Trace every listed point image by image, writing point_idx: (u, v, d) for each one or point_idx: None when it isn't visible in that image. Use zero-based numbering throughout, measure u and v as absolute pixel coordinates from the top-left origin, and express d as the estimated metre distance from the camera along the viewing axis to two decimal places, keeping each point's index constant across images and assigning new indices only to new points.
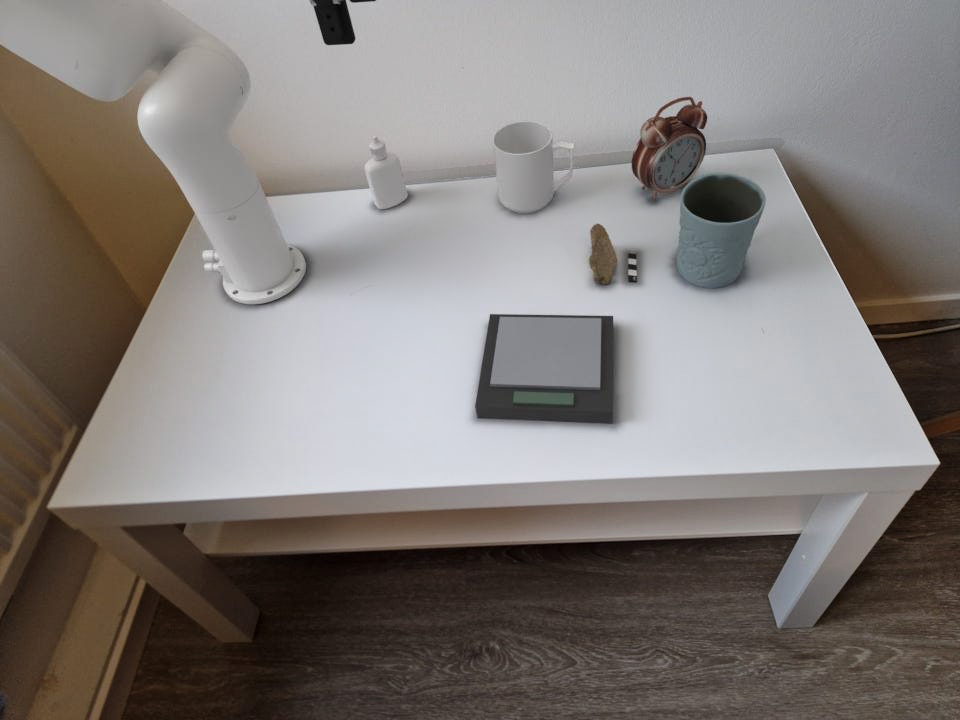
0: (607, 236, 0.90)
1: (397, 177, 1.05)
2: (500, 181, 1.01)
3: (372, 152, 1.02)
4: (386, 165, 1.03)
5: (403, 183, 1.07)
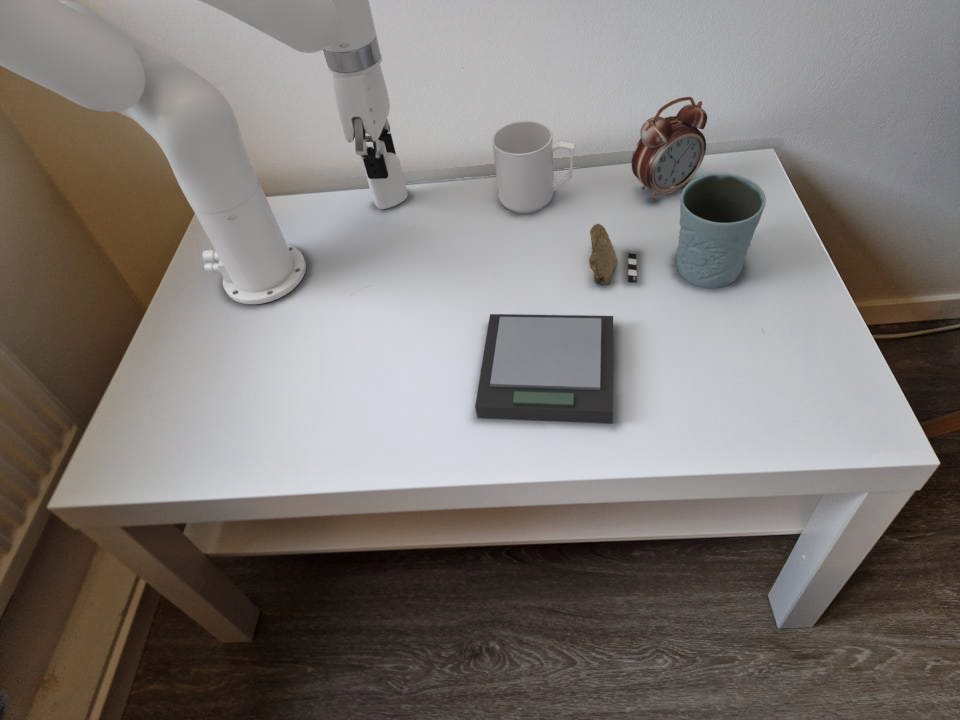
0: (607, 236, 0.90)
1: (397, 177, 1.06)
2: (500, 181, 1.01)
3: None
4: (386, 164, 1.03)
5: (403, 183, 1.07)
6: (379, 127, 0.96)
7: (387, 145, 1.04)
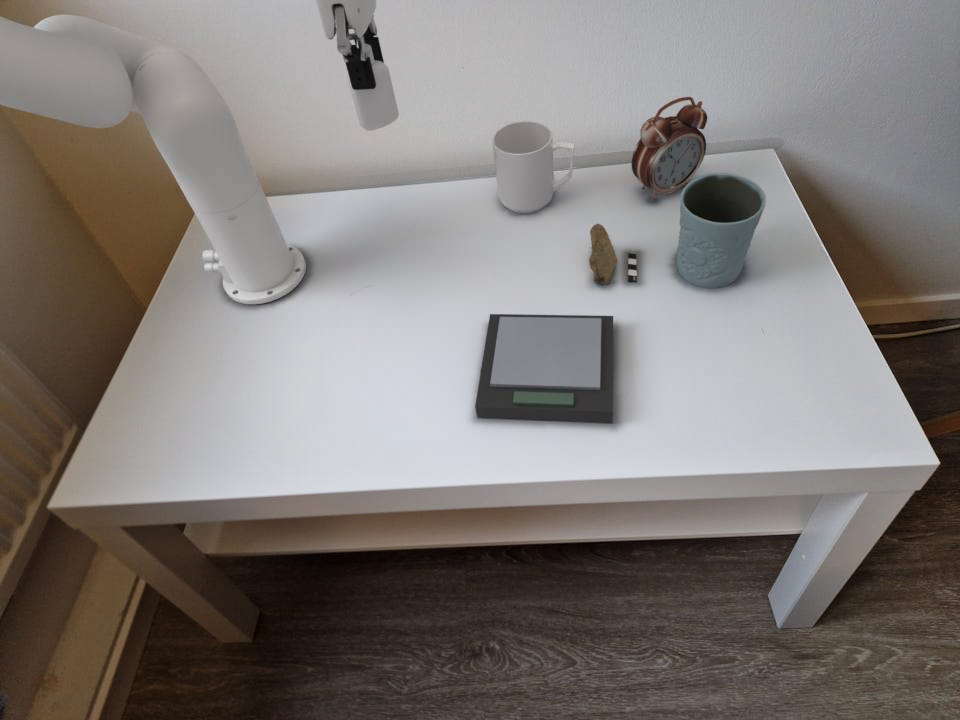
0: (607, 236, 0.90)
1: (387, 90, 0.90)
2: (500, 181, 1.01)
3: None
4: None
5: (393, 99, 0.92)
6: (364, 20, 0.81)
7: (374, 52, 0.89)
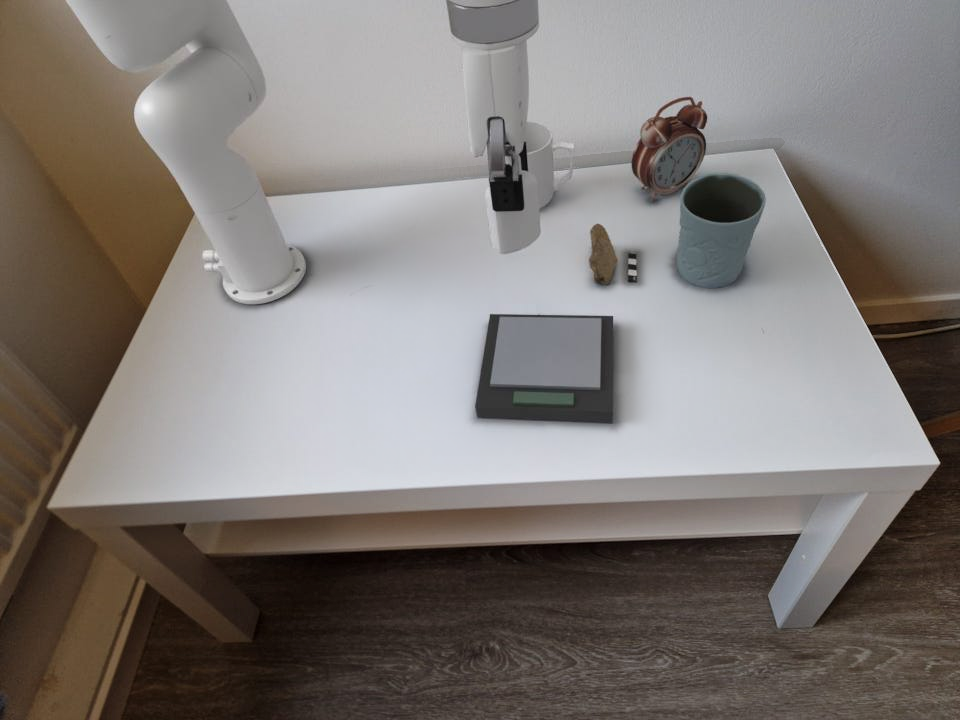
0: (607, 236, 0.90)
1: (532, 207, 0.70)
2: None
3: None
4: None
5: (538, 215, 0.72)
6: (524, 133, 0.60)
7: None
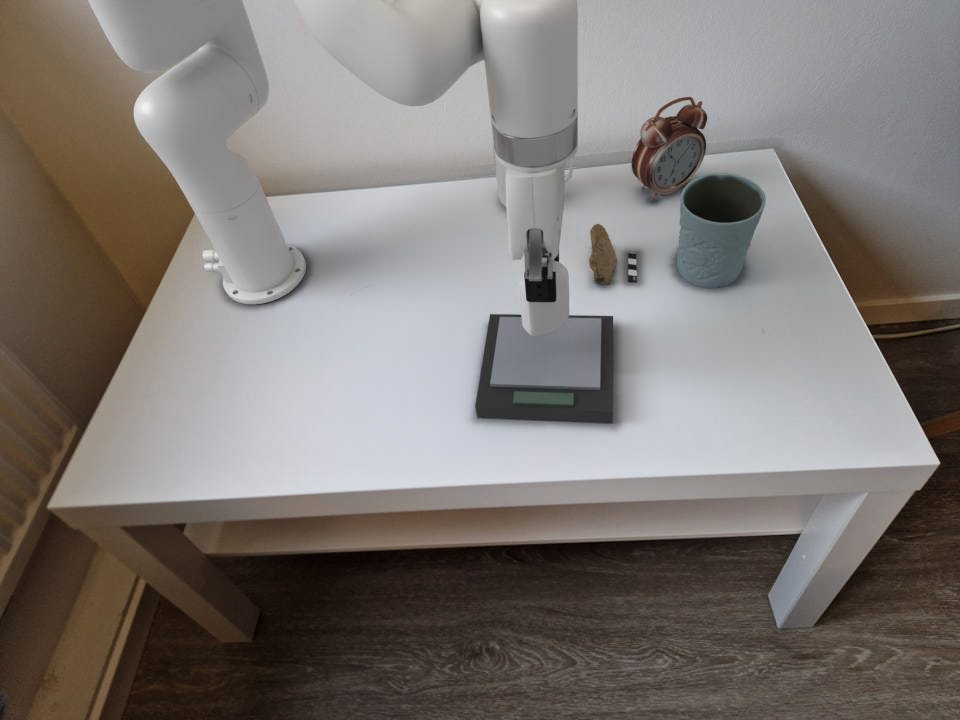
0: (607, 236, 0.90)
1: (563, 295, 0.74)
2: (500, 181, 1.01)
3: None
4: None
5: (567, 301, 0.75)
6: None
7: None
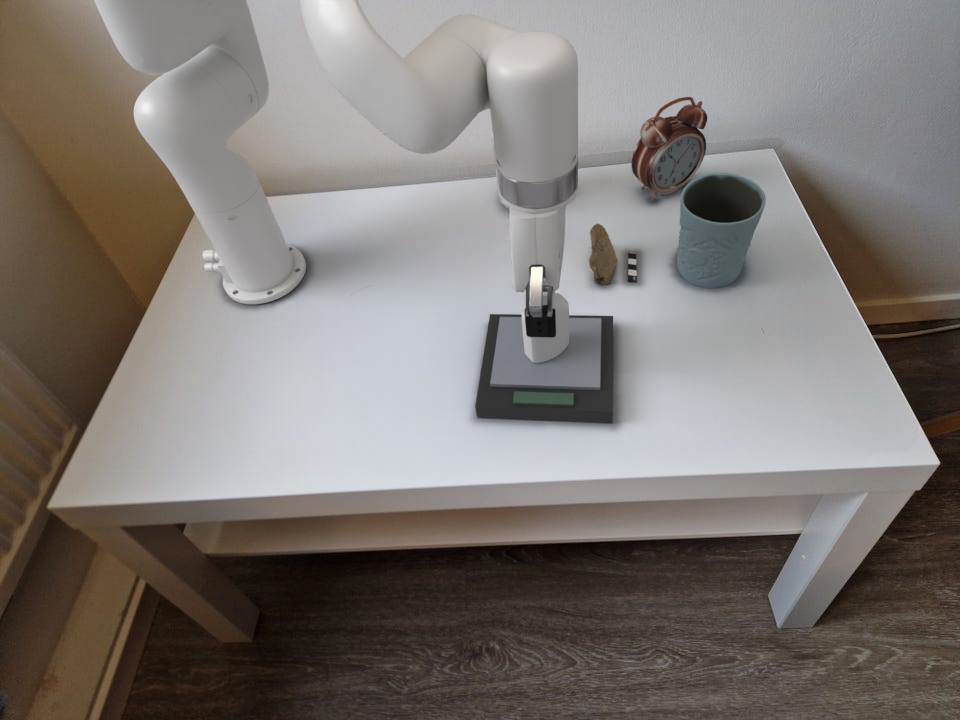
0: (607, 236, 0.90)
1: (563, 325, 0.77)
2: None
3: None
4: None
5: (568, 330, 0.79)
6: None
7: None
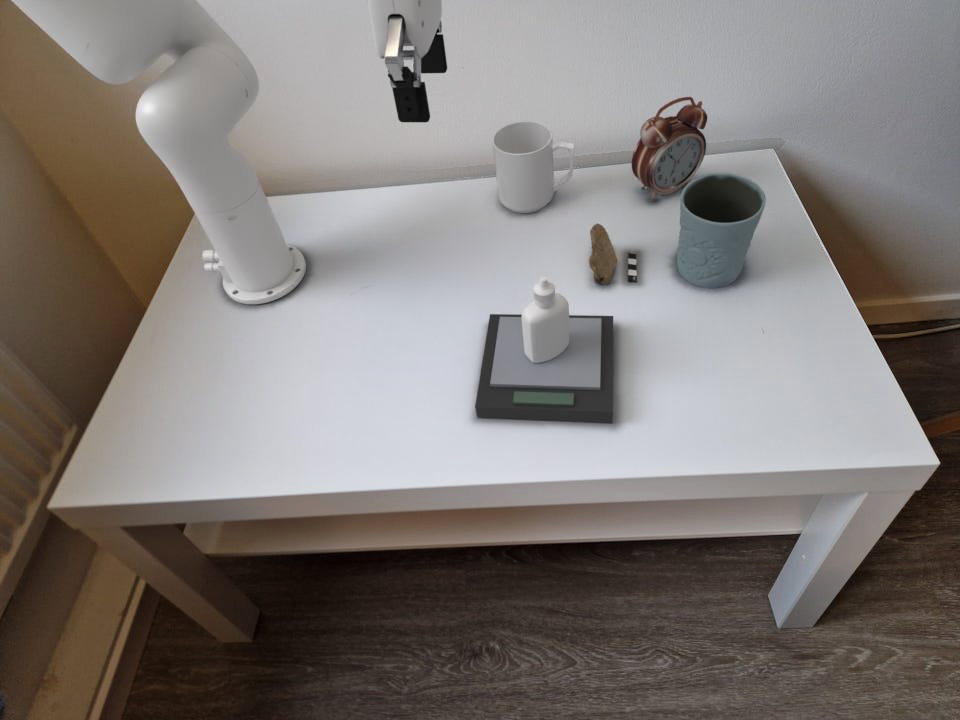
0: (607, 236, 0.90)
1: (563, 325, 0.77)
2: (500, 181, 1.01)
3: (537, 298, 0.73)
4: (554, 313, 0.75)
5: (568, 330, 0.79)
6: (428, 36, 0.62)
7: (436, 53, 0.71)
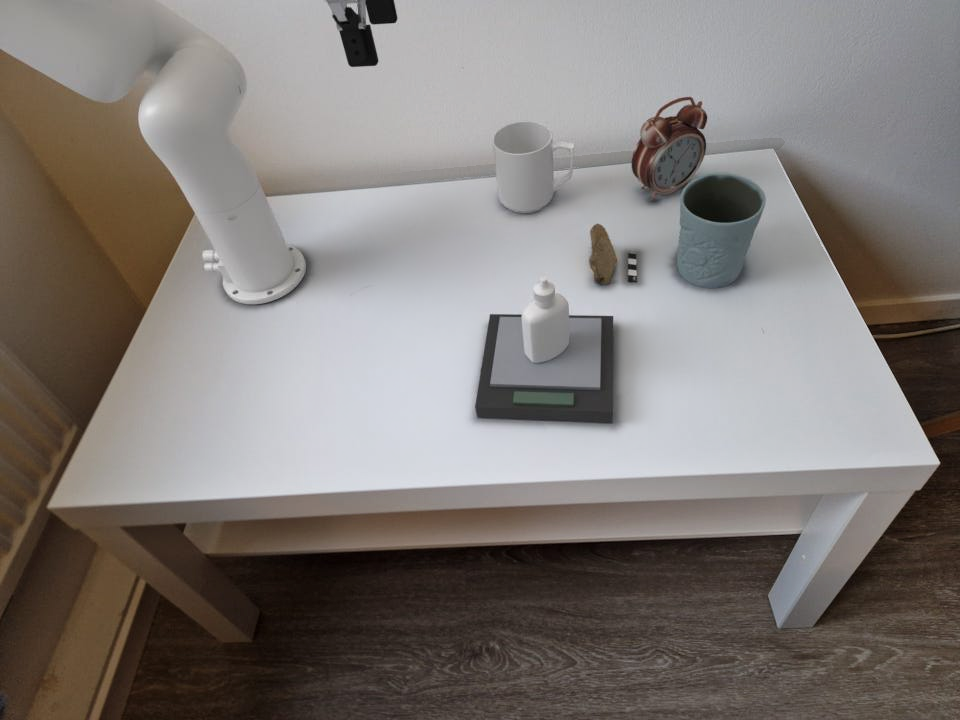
0: (607, 236, 0.90)
1: (563, 325, 0.77)
2: (500, 181, 1.01)
3: (537, 298, 0.73)
4: (554, 313, 0.75)
5: (568, 330, 0.79)
6: None
7: (385, 3, 0.74)
